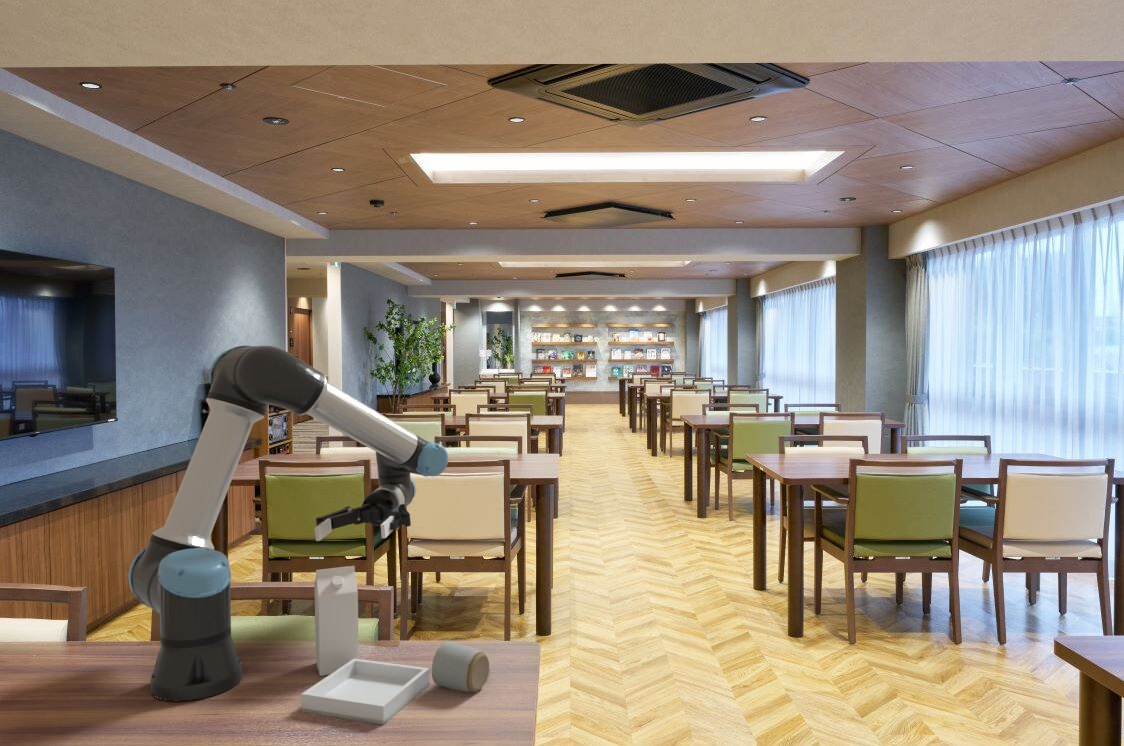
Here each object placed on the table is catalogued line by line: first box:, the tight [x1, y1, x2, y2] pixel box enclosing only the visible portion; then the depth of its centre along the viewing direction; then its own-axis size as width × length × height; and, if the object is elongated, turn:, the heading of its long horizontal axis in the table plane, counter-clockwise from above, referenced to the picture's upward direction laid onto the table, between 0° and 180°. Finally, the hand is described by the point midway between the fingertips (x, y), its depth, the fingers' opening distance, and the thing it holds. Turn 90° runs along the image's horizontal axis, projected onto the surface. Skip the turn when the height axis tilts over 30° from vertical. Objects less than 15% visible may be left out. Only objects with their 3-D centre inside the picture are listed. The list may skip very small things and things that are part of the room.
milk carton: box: [313, 565, 360, 677], centre depth 148 cm, size 7×7×19 cm
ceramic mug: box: [431, 640, 491, 693], centre depth 140 cm, size 11×8×8 cm
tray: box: [301, 658, 430, 725], centre depth 135 cm, size 16×16×3 cm
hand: (349, 533), depth 156 cm, fingers open, 13 cm apart
